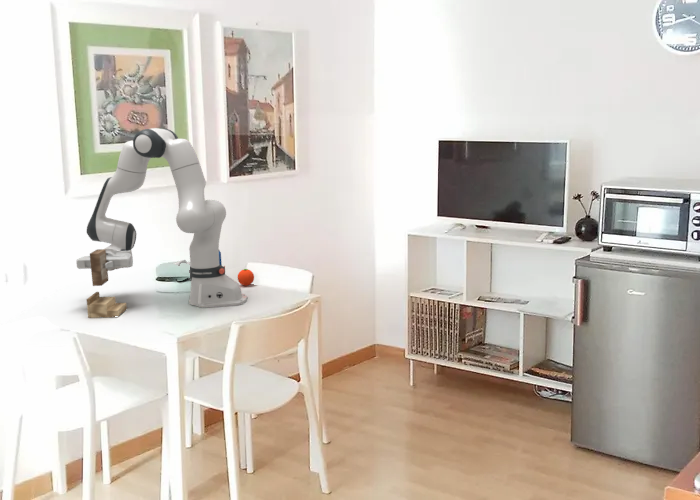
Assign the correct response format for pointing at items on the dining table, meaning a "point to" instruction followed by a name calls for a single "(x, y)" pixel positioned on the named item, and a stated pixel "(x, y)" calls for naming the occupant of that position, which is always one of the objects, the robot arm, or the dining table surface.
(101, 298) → the oak notch rail
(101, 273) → the brown wooden block
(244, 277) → the clementine
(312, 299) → the dining table surface
